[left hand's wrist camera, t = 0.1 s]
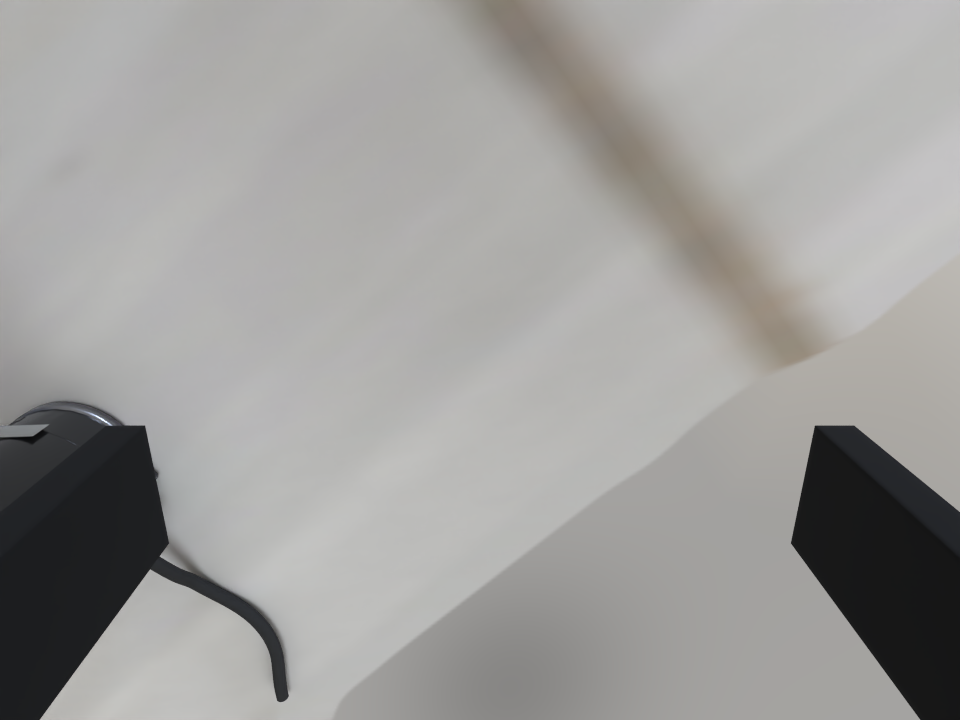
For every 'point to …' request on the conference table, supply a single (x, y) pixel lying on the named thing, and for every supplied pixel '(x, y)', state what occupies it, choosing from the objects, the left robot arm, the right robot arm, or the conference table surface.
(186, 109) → the conference table surface
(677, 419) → the conference table surface
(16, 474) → the right robot arm
